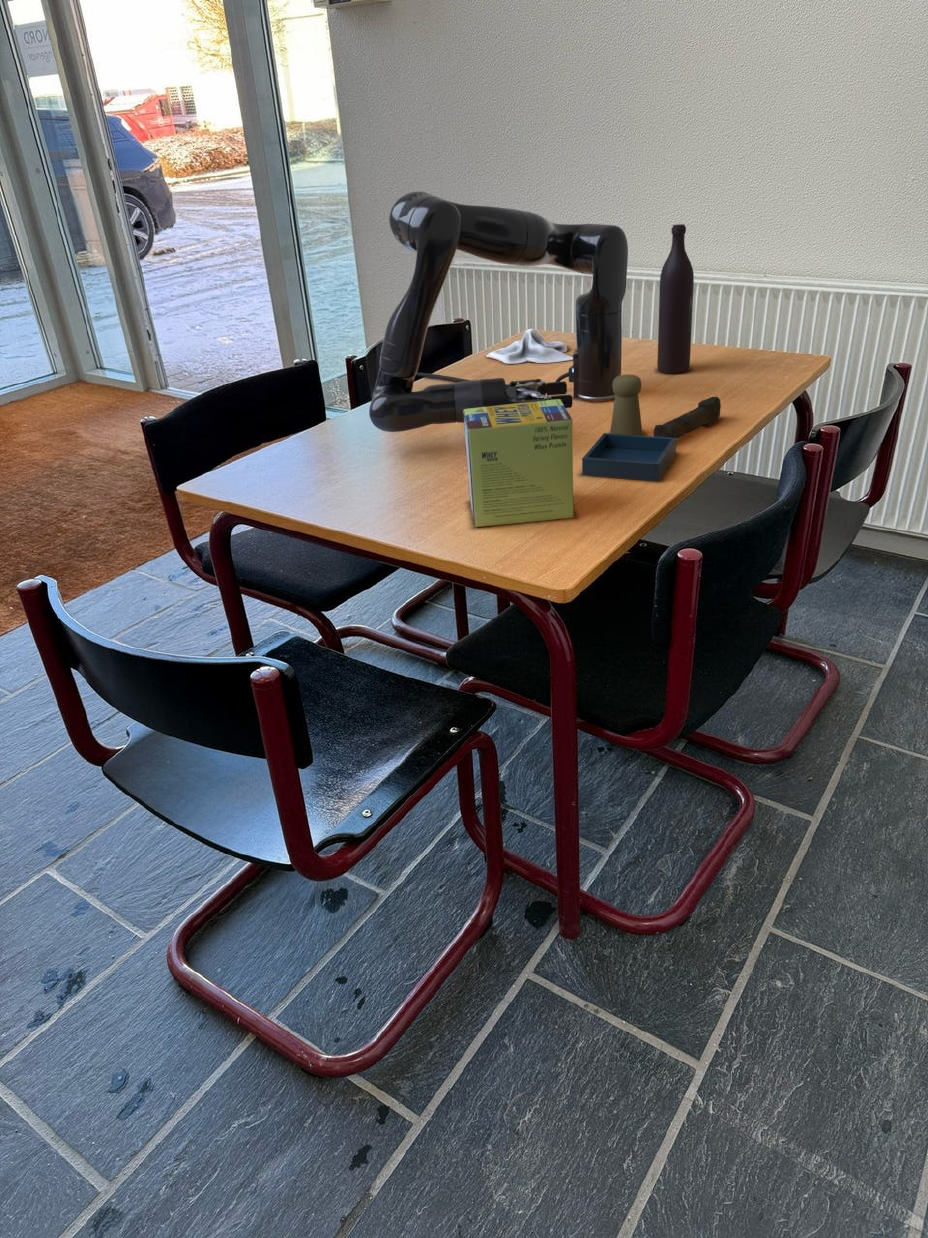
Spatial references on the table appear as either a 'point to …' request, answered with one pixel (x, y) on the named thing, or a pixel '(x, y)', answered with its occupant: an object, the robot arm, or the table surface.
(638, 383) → the cork
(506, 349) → the cloth
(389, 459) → the table surface
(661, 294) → the wine bottle
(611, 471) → the caddy
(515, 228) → the robot arm
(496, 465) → the protein box
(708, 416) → the rusty railroad spike
